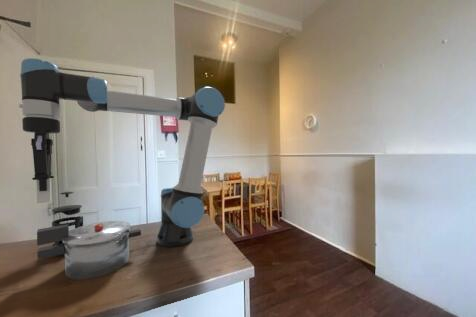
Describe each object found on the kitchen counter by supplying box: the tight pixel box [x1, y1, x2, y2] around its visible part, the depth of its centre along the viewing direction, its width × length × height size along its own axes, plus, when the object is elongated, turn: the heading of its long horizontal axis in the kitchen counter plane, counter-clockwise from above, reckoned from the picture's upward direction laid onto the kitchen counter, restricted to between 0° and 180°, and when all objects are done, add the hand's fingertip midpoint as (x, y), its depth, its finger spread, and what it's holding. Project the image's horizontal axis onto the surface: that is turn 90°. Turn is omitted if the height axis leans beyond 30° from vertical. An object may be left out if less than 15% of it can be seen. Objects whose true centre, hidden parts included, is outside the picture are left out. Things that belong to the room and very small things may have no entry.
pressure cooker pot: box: [37, 228, 142, 280], centre depth 69 cm, size 28×18×10 cm, turn 127°
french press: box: [51, 191, 84, 257], centre depth 80 cm, size 12×9×23 cm
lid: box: [36, 220, 131, 246], centre depth 68 cm, size 24×19×5 cm
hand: (44, 202), depth 57 cm, fingers closed
